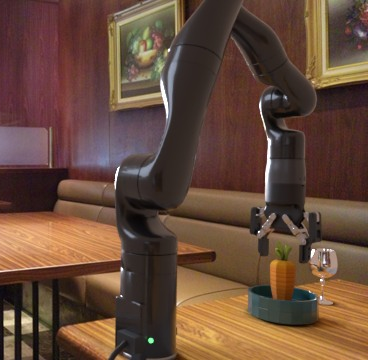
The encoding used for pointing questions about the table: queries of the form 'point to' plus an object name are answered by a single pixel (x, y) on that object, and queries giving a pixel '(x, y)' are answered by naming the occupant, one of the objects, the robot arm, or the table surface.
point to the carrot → (282, 274)
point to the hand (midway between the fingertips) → (283, 259)
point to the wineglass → (323, 267)
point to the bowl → (283, 306)
